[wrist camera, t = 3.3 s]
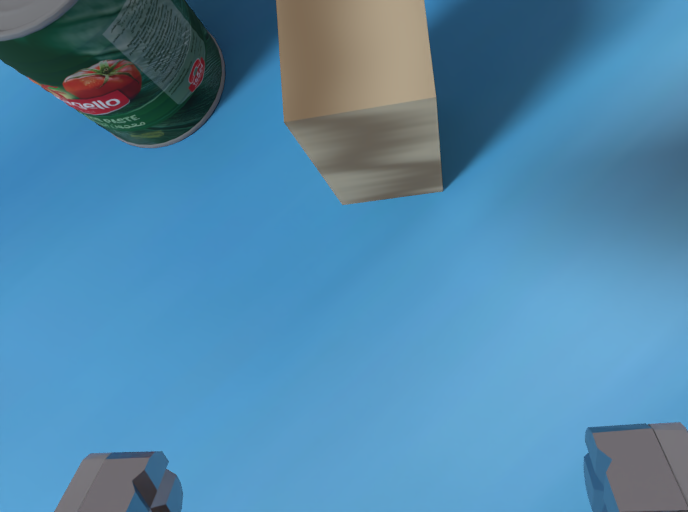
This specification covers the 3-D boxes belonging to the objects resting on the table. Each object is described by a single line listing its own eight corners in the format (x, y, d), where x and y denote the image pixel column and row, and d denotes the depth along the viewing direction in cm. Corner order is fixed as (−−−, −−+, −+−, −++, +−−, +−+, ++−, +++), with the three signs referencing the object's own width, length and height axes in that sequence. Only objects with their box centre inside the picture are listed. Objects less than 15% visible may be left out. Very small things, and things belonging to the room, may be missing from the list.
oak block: (431, 97, 28) (418, -41, 19) (443, 191, 27) (436, 97, 18) (334, 113, 29) (275, -11, 20) (342, 205, 28) (284, 122, 19)
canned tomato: (218, 4, 32) (100, -176, 21) (232, 131, 30) (112, 5, 20) (92, 37, 33) (-78, -116, 23) (99, 162, 31) (-82, 59, 21)
